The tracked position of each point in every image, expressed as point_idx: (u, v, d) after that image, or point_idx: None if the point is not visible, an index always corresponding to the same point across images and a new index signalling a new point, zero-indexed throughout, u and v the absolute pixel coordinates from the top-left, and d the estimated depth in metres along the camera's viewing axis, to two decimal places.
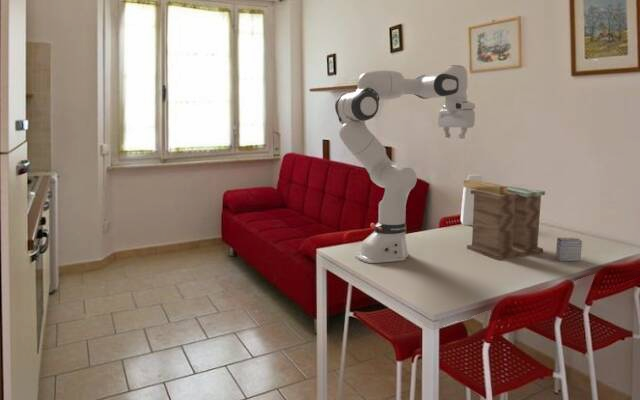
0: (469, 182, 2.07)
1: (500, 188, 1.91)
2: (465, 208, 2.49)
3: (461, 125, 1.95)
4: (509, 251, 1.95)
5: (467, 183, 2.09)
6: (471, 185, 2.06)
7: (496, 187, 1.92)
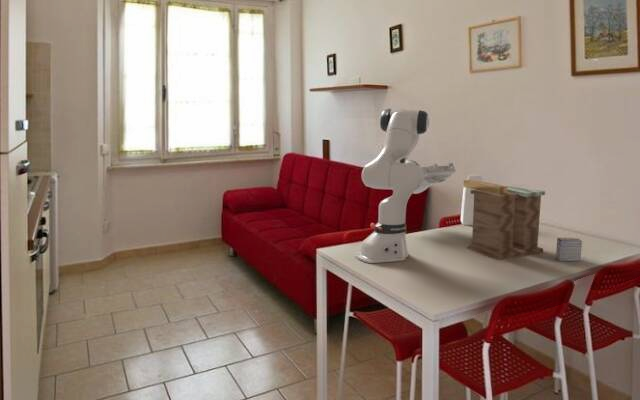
0: (469, 182, 2.07)
1: (500, 188, 1.91)
2: (465, 208, 2.49)
3: None
4: (509, 251, 1.95)
5: (467, 183, 2.09)
6: (471, 185, 2.06)
7: (496, 187, 1.92)
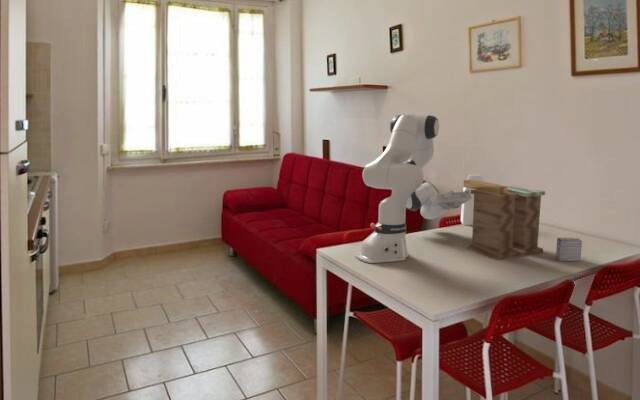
0: (469, 182, 2.07)
1: (500, 188, 1.91)
2: (465, 208, 2.49)
3: None
4: (509, 251, 1.95)
5: (467, 183, 2.09)
6: (471, 185, 2.06)
7: (496, 187, 1.92)
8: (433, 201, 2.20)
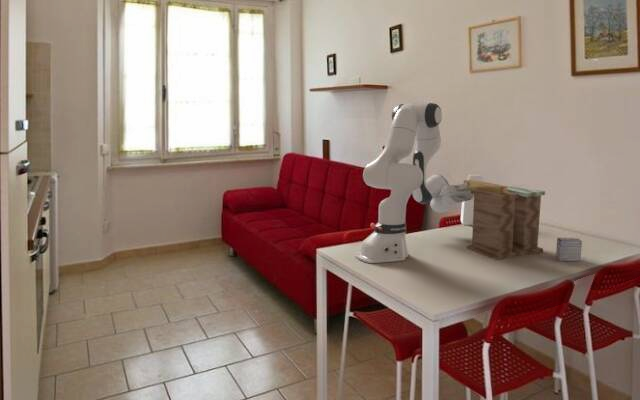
0: (469, 182, 2.07)
1: (500, 188, 1.91)
2: (465, 208, 2.49)
3: None
4: (509, 251, 1.95)
5: None
6: (471, 185, 2.06)
7: (496, 187, 1.92)
8: (444, 193, 2.11)
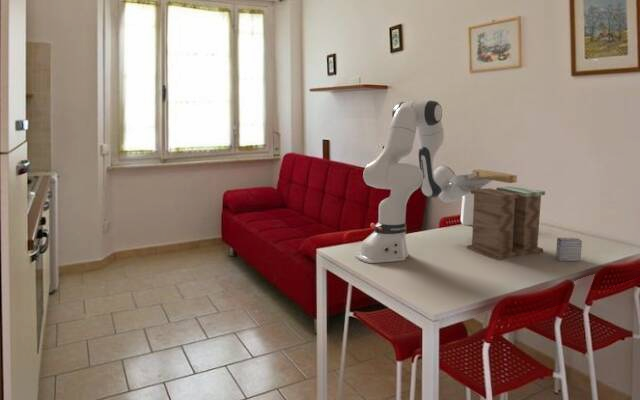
0: (478, 172, 2.09)
1: (510, 177, 1.92)
2: (465, 208, 2.49)
3: None
4: (509, 251, 1.95)
5: None
6: (480, 174, 2.08)
7: (506, 176, 1.94)
8: (453, 183, 2.13)
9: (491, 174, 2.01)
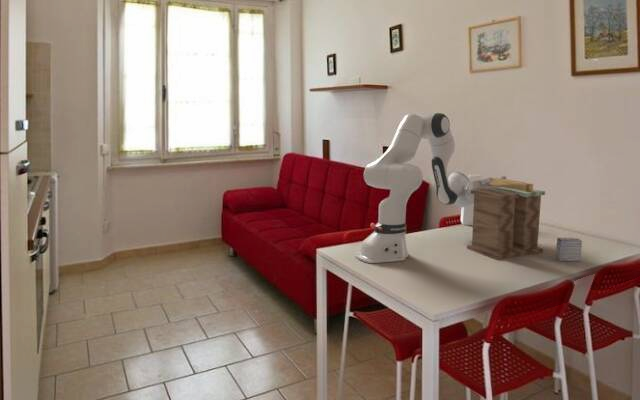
0: (494, 180, 2.13)
1: (526, 186, 1.96)
2: (465, 208, 2.49)
3: None
4: (509, 251, 1.95)
5: (492, 180, 2.14)
6: (496, 182, 2.12)
7: (522, 184, 1.98)
8: (470, 188, 2.17)
9: (507, 182, 2.05)
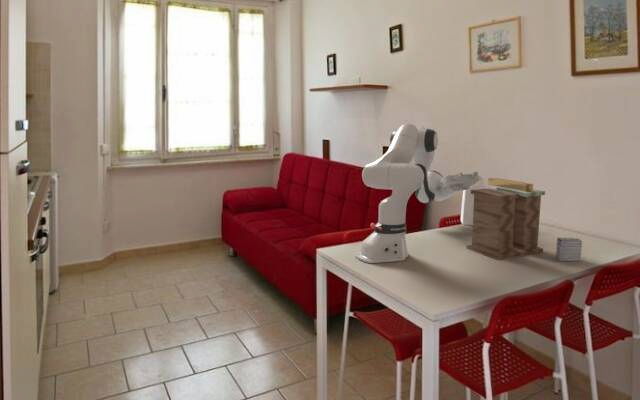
0: (494, 180, 2.13)
1: (526, 186, 1.96)
2: (465, 208, 2.49)
3: None
4: (509, 251, 1.95)
5: (492, 180, 2.14)
6: (496, 182, 2.12)
7: (522, 184, 1.98)
8: (443, 182, 2.34)
9: (507, 182, 2.05)
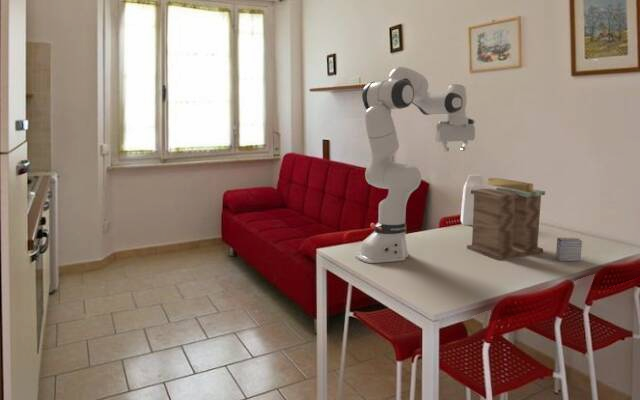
0: (494, 180, 2.13)
1: (526, 186, 1.96)
2: (465, 208, 2.49)
3: (468, 138, 2.21)
4: (509, 251, 1.95)
5: (492, 180, 2.14)
6: (496, 182, 2.12)
7: (522, 184, 1.98)
8: (436, 133, 2.17)
9: (507, 182, 2.05)
